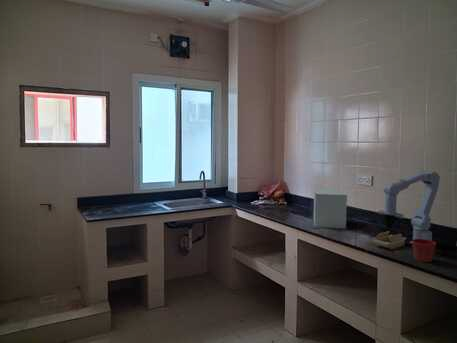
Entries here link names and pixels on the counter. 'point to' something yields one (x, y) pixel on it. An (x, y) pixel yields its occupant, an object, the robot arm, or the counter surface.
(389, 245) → the carton
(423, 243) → the flower pot
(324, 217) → the cube
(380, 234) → the flap far
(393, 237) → the flap near
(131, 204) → the counter surface
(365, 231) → the counter surface
